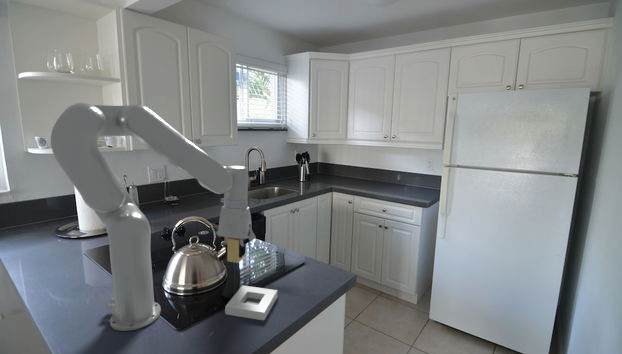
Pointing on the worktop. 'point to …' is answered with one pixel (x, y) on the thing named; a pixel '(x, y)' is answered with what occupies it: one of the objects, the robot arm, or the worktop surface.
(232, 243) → the plug block
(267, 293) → the socket housing
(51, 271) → the worktop surface
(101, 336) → the worktop surface
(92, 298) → the worktop surface
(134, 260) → the robot arm
